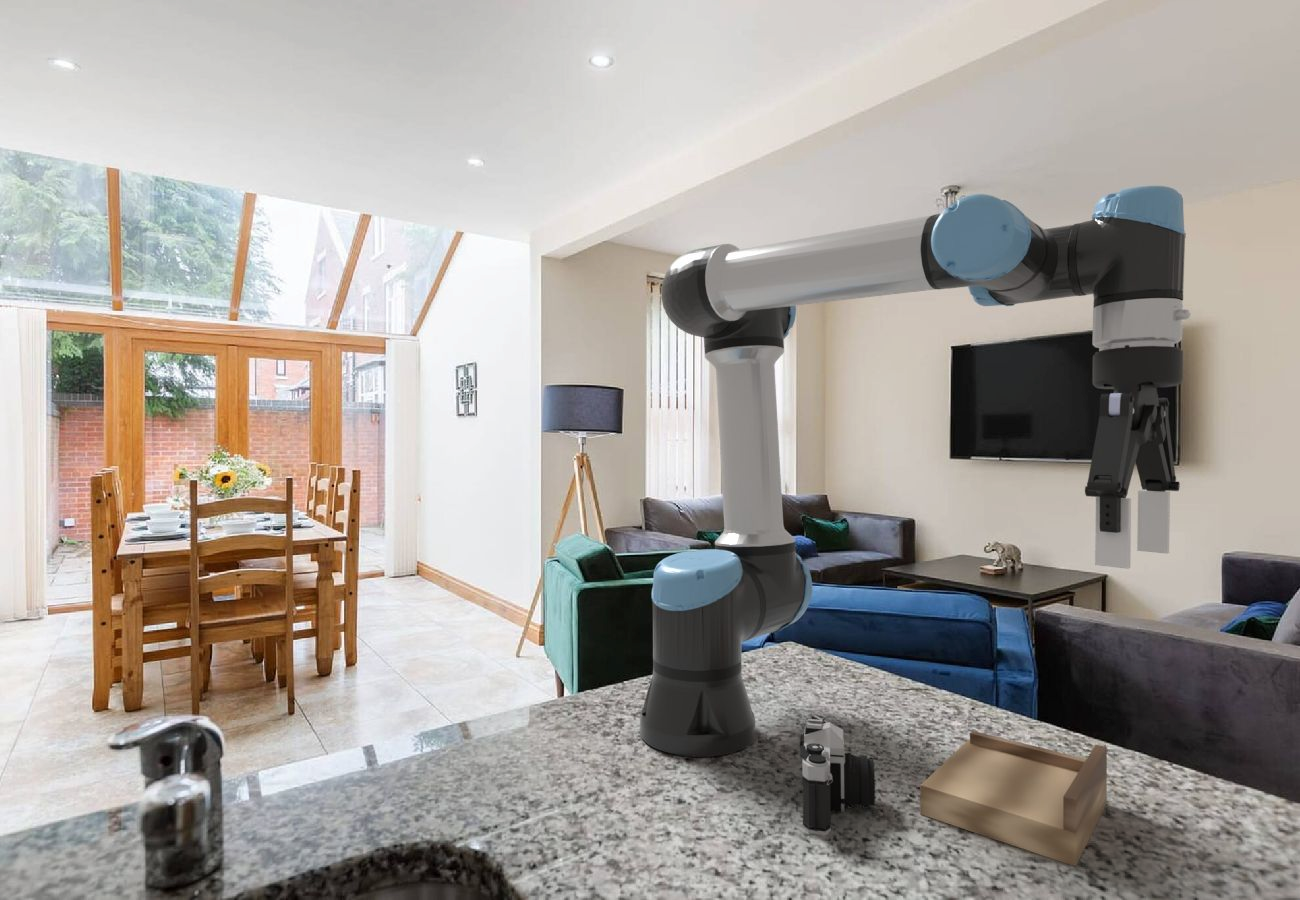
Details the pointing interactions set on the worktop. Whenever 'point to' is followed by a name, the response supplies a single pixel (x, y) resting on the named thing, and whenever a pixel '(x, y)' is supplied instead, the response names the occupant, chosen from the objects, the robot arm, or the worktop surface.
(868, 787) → the camera
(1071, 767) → the wooden corner tray
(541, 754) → the worktop surface
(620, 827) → the worktop surface
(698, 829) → the worktop surface
